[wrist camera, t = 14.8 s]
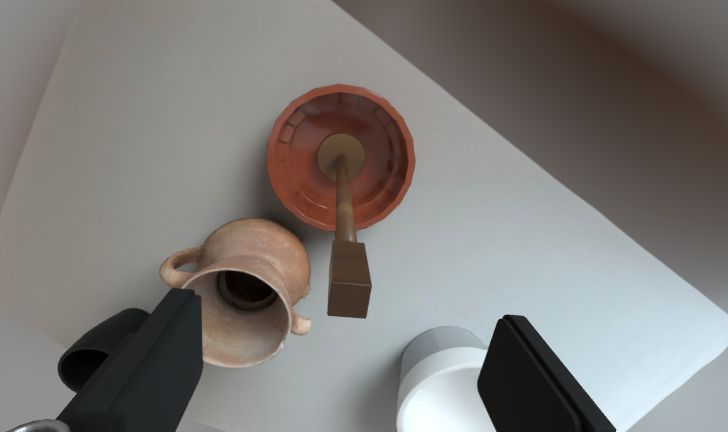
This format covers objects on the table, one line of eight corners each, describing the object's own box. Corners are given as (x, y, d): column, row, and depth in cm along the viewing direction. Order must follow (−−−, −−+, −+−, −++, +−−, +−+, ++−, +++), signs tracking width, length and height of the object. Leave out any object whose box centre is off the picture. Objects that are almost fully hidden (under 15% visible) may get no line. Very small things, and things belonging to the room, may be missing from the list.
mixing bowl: (280, 75, 40) (270, 73, 35) (416, 96, 42) (428, 97, 37) (272, 207, 46) (263, 223, 40) (393, 221, 48) (400, 238, 42)
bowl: (372, 396, 59) (380, 459, 49) (404, 303, 53) (420, 353, 43) (475, 409, 62) (501, 472, 52) (516, 323, 56) (556, 374, 46)
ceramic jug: (337, 242, 48) (337, 300, 35) (293, 319, 52) (278, 397, 39) (214, 184, 44) (161, 224, 31) (176, 272, 48) (114, 341, 35)
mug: (190, 352, 53) (161, 405, 44) (107, 342, 51) (58, 395, 42) (194, 308, 50) (163, 355, 41) (106, 296, 49) (54, 342, 40)
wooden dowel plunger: (320, 128, 42) (277, 223, 12) (367, 135, 43) (438, 240, 13) (315, 175, 44) (268, 356, 14) (361, 181, 45) (408, 364, 15)
